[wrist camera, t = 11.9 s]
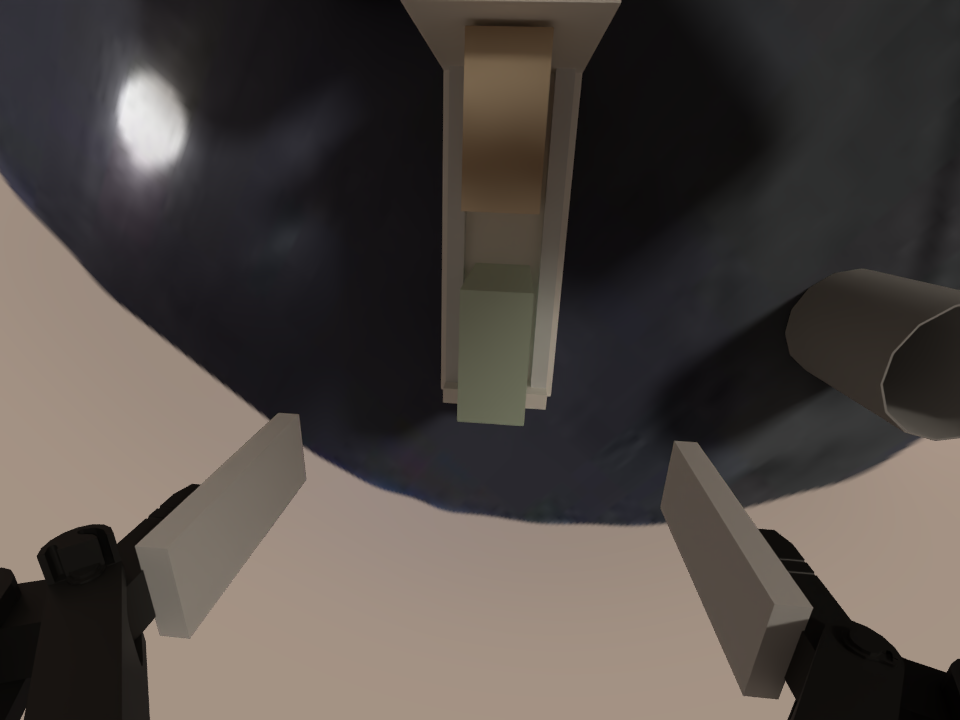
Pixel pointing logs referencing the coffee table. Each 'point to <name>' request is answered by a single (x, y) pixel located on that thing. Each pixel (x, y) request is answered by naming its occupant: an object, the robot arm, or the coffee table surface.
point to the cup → (884, 347)
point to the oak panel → (505, 117)
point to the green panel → (494, 343)
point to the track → (542, 237)
